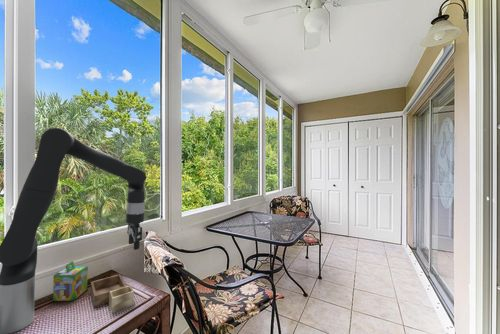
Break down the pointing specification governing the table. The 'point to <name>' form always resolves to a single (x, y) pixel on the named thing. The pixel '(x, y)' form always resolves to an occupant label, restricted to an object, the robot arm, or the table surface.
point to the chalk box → (70, 283)
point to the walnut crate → (105, 289)
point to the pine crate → (121, 298)
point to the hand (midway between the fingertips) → (133, 246)
